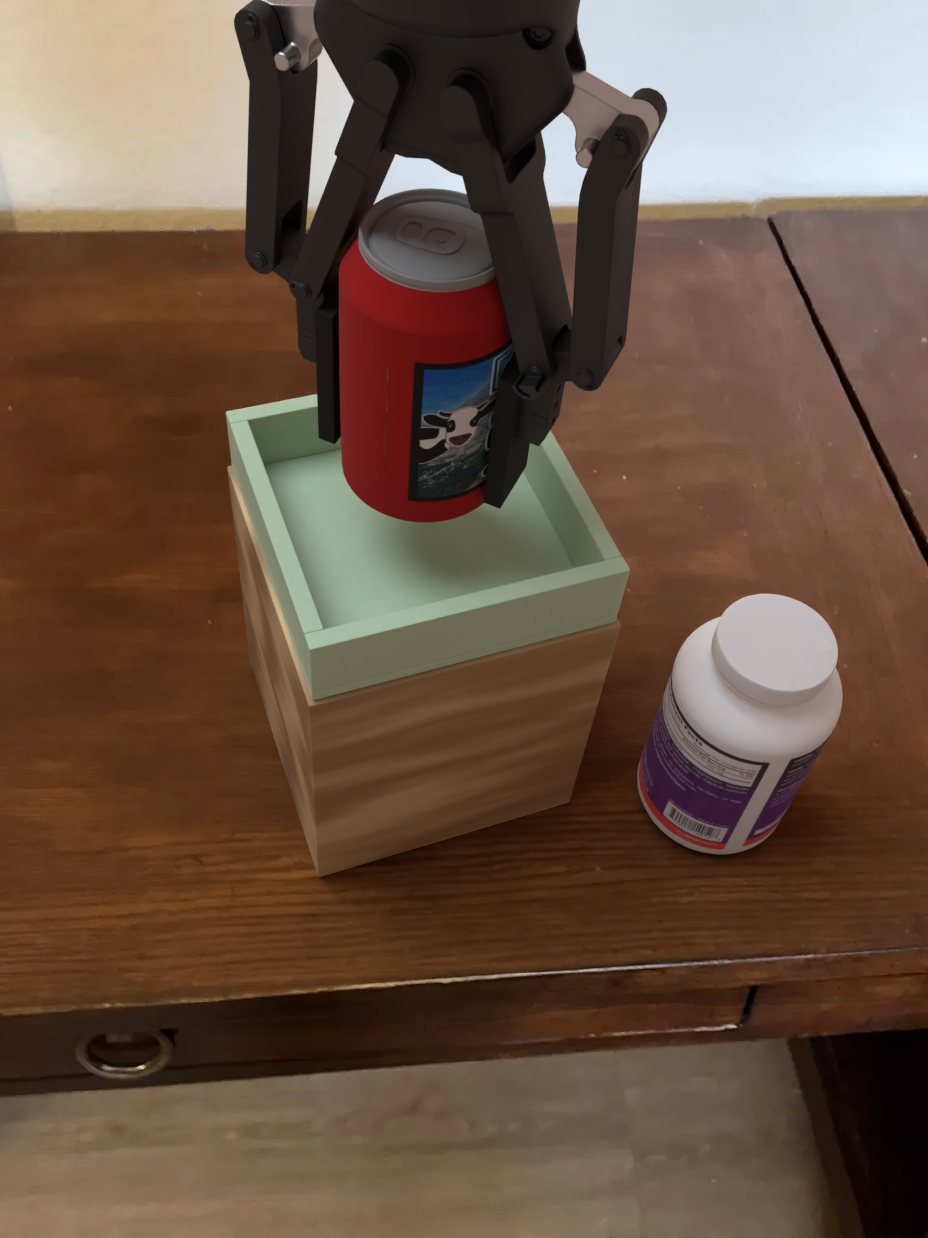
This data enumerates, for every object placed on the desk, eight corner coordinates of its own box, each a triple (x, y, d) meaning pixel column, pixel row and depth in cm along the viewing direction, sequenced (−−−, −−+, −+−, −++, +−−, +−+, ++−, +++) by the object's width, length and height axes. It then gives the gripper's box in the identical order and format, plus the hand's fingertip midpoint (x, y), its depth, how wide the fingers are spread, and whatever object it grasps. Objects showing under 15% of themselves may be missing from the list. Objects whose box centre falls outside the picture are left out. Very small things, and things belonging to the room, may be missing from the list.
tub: (615, 622, 53) (630, 570, 50) (312, 701, 49) (309, 649, 46) (502, 412, 60) (509, 356, 57) (231, 468, 56) (225, 411, 54)
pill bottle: (753, 725, 69) (831, 563, 58) (799, 852, 64) (896, 703, 53) (616, 740, 68) (669, 578, 56) (654, 871, 63) (720, 723, 52)
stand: (569, 803, 65) (621, 624, 53) (318, 878, 62) (308, 706, 49) (478, 606, 73) (504, 409, 60) (250, 662, 69) (226, 465, 57)
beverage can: (467, 557, 49) (494, 318, 39) (314, 505, 50) (304, 260, 40) (522, 448, 53) (559, 207, 43) (379, 402, 54) (384, 157, 44)
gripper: (859, -130, 32) (675, 477, 50) (213, -296, 36) (261, 323, 54) (783, -14, 28) (612, 604, 46) (59, -217, 32) (167, 426, 50)
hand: (422, 451), depth 50 cm, fingers closed on beverage can, 7 cm apart
